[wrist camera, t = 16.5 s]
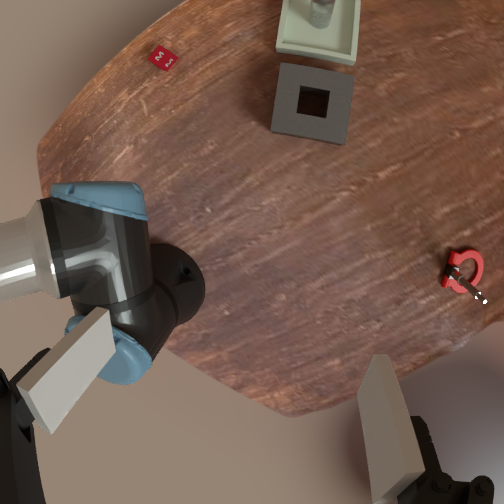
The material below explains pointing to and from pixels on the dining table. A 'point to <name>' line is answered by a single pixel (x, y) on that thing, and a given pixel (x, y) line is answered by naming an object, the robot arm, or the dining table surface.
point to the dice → (162, 58)
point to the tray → (320, 32)
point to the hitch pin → (321, 13)
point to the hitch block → (314, 83)
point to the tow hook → (455, 276)
